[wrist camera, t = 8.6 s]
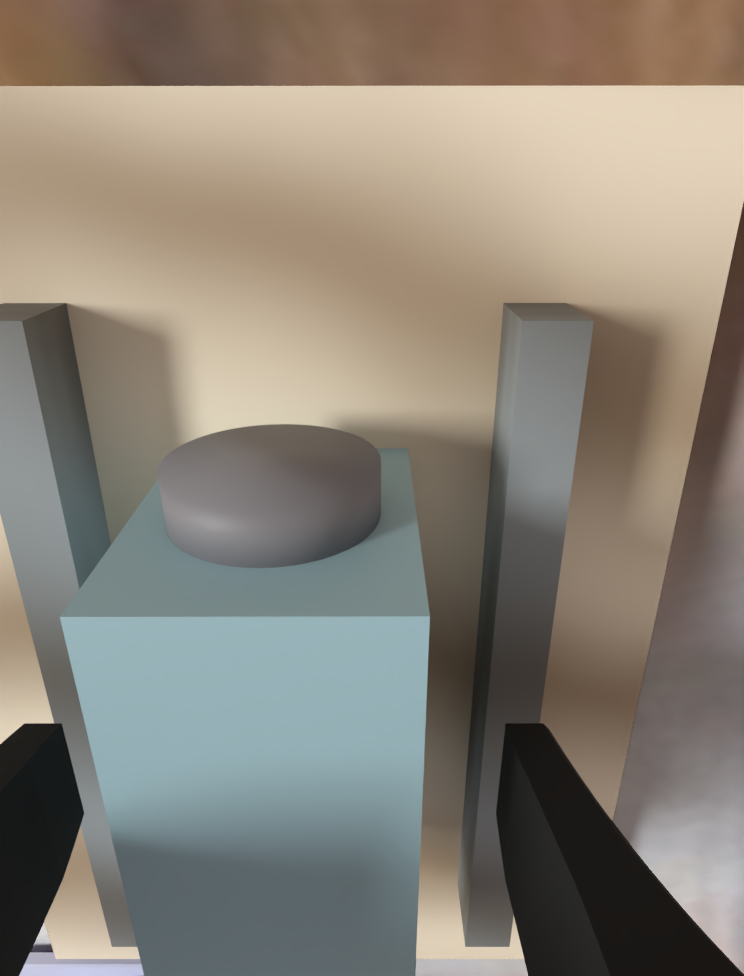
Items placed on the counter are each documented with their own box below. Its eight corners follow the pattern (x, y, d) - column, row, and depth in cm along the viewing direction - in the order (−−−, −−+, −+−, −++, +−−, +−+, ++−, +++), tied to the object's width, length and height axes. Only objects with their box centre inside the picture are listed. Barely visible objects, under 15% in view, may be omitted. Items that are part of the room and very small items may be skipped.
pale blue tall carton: (399, 812, 16) (411, 1072, 11) (226, 812, 16) (166, 1072, 11) (408, 404, 11) (432, 551, 7) (173, 404, 11) (44, 553, 7)
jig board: (573, 921, 19) (601, 1023, 16) (71, 921, 19) (29, 1023, 16) (733, 93, 10) (833, 70, 8) (-170, 94, 10) (-319, 71, 8)
